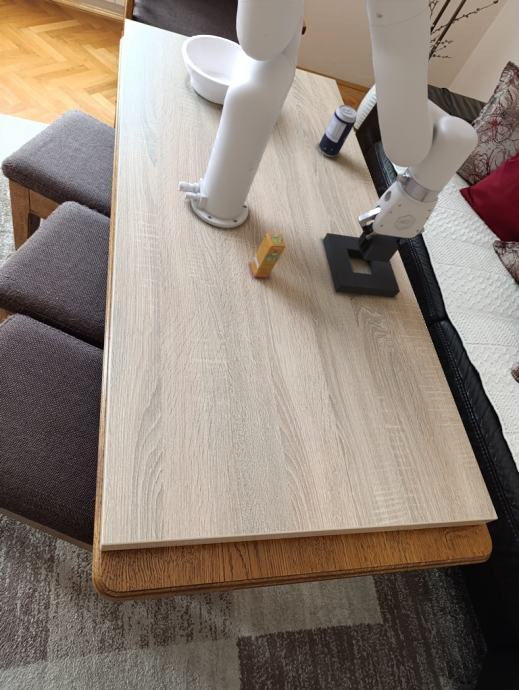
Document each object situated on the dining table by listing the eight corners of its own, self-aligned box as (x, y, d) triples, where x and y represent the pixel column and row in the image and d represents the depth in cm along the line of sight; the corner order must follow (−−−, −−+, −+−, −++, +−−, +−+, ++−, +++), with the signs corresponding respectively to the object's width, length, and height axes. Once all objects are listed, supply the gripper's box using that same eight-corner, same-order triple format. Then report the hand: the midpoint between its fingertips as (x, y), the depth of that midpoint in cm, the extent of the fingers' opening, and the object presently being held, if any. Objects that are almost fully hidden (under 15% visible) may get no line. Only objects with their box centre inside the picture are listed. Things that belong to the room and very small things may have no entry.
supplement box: (254, 278, 101) (270, 245, 93) (250, 265, 103) (265, 231, 95) (269, 278, 102) (286, 245, 94) (264, 265, 104) (281, 231, 96)
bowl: (210, 123, 123) (218, 93, 116) (159, 71, 128) (164, 38, 121) (269, 108, 135) (280, 80, 128) (221, 60, 139) (229, 31, 133)
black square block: (364, 259, 105) (374, 245, 101) (357, 239, 108) (367, 224, 104) (387, 262, 107) (399, 248, 103) (381, 242, 110) (391, 227, 106)
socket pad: (335, 292, 106) (340, 285, 104) (322, 240, 114) (327, 232, 112) (394, 298, 111) (400, 291, 109) (378, 248, 119) (383, 240, 117)
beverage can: (337, 161, 132) (359, 121, 122) (318, 154, 131) (338, 114, 121) (336, 147, 135) (357, 108, 125) (317, 141, 134) (336, 100, 124)
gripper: (385, 191, 88) (341, 258, 103) (465, 205, 94) (412, 267, 108) (375, 162, 92) (333, 231, 106) (452, 177, 97) (403, 241, 112)
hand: (374, 249), depth 107 cm, fingers closed on black square block, 5 cm apart
